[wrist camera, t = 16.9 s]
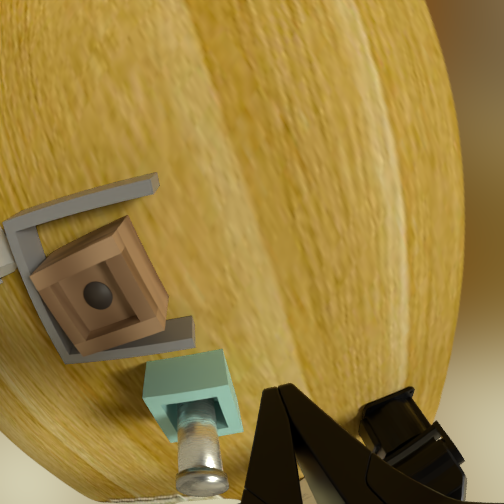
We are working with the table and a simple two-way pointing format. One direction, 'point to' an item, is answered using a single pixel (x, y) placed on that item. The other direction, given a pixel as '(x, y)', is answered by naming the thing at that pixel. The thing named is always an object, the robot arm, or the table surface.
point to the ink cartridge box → (306, 493)
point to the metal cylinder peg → (199, 450)
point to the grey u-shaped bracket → (32, 256)
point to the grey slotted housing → (6, 256)
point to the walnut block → (103, 289)
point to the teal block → (191, 390)
